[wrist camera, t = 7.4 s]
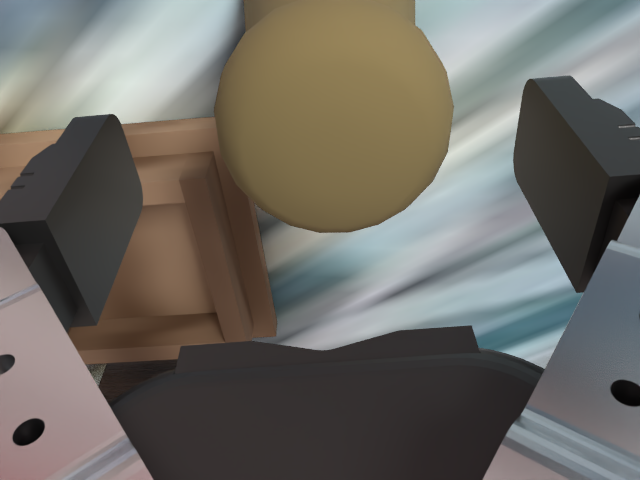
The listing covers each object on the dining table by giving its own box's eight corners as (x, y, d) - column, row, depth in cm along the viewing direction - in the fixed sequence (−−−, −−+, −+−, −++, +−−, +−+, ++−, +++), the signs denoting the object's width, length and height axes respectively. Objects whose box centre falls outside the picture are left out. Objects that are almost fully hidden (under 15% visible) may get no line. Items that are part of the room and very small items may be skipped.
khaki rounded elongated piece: (362, 107, 22) (389, 305, 14) (218, 40, 21) (144, 217, 12) (449, -42, 19) (557, 94, 10) (284, -138, 17) (248, -70, 9)
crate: (236, 114, 22) (226, 152, 20) (277, 322, 30) (273, 367, 27) (-52, 138, 23) (-94, 177, 21) (58, 335, 30) (36, 380, 28)
